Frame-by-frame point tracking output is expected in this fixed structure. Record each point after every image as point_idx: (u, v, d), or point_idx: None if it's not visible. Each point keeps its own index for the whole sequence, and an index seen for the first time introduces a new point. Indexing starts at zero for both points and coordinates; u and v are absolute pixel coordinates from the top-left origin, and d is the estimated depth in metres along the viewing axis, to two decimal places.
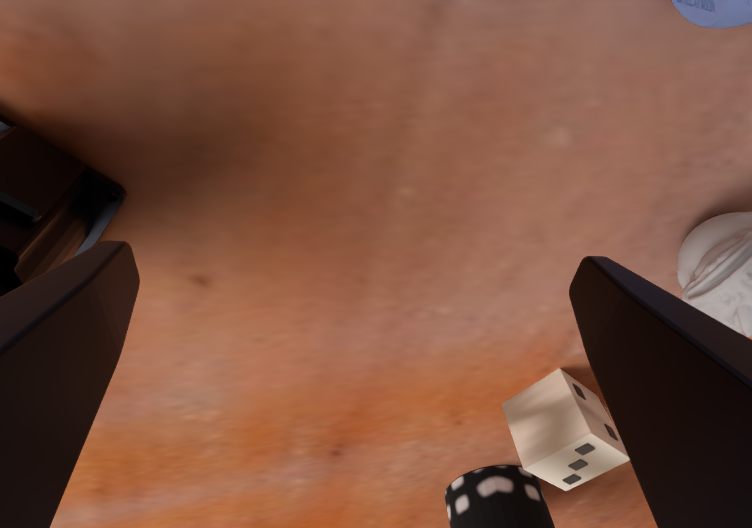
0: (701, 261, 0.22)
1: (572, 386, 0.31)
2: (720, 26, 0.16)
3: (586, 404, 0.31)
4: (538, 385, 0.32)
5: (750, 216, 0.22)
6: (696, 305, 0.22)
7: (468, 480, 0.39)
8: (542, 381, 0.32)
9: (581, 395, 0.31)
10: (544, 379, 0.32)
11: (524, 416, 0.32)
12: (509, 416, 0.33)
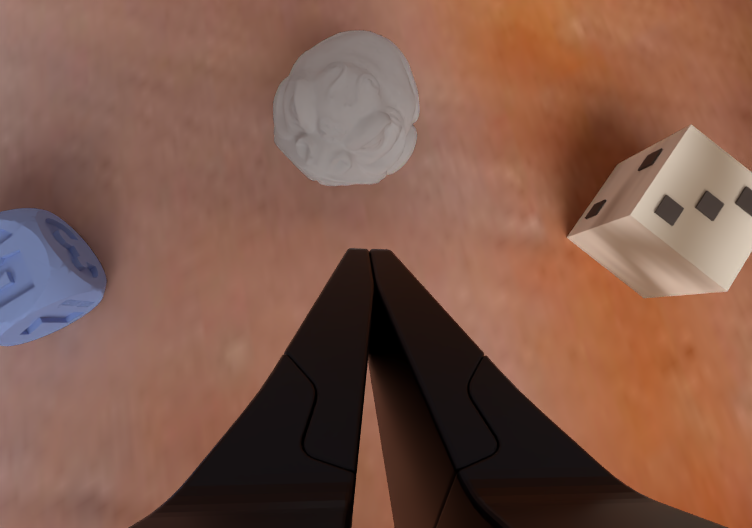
0: None
1: (587, 221, 0.22)
2: (86, 280, 0.18)
3: (610, 200, 0.22)
4: (599, 259, 0.23)
5: None
6: (379, 174, 0.18)
7: None
8: (591, 254, 0.23)
9: (598, 208, 0.22)
10: (588, 252, 0.23)
11: (646, 277, 0.22)
12: (656, 293, 0.22)
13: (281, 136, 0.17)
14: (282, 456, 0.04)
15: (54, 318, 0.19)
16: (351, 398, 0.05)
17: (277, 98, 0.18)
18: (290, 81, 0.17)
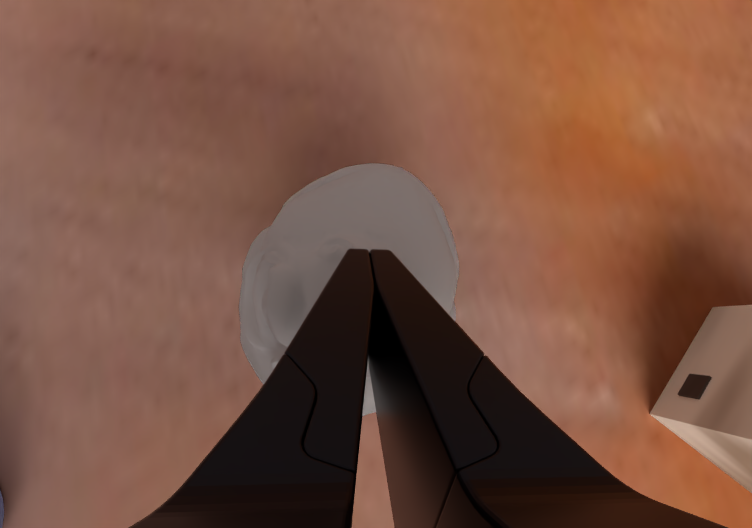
0: None
1: (683, 401, 0.16)
2: None
3: (720, 382, 0.15)
4: (696, 447, 0.17)
5: None
6: None
7: None
8: (684, 439, 0.17)
9: (700, 388, 0.16)
10: (679, 435, 0.17)
11: None
12: None
13: (250, 340, 0.11)
14: (282, 456, 0.04)
15: None
16: (351, 398, 0.05)
17: (245, 277, 0.11)
18: (264, 261, 0.11)
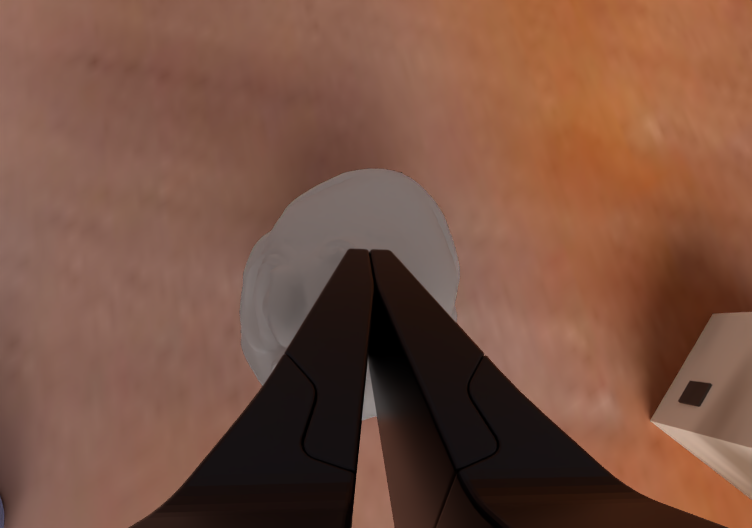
0: None
1: (683, 409, 0.16)
2: None
3: (720, 389, 0.15)
4: (696, 454, 0.17)
5: None
6: None
7: None
8: (685, 446, 0.17)
9: (701, 395, 0.16)
10: (680, 442, 0.17)
11: None
12: None
13: (251, 344, 0.11)
14: (282, 456, 0.05)
15: None
16: (351, 398, 0.05)
17: (246, 281, 0.11)
18: (265, 263, 0.11)
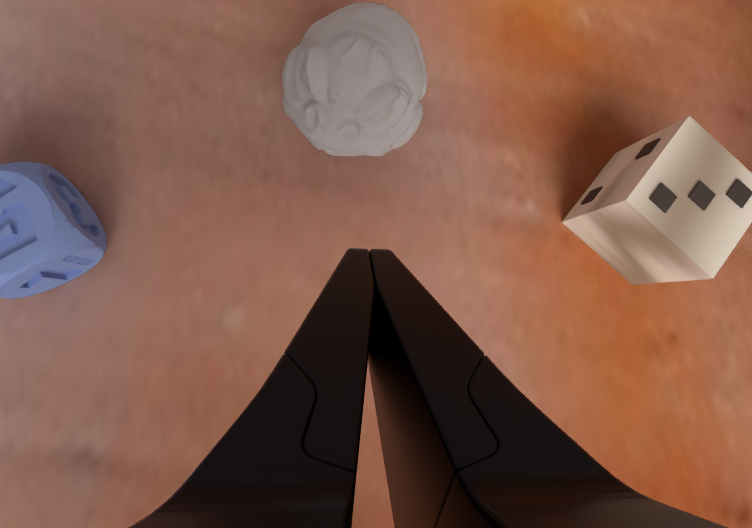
0: None
1: (583, 206, 0.23)
2: (88, 237, 0.18)
3: (606, 187, 0.22)
4: (592, 244, 0.24)
5: None
6: (384, 147, 0.18)
7: None
8: (584, 240, 0.24)
9: (594, 194, 0.23)
10: (581, 237, 0.24)
11: (636, 264, 0.22)
12: (644, 279, 0.23)
13: (290, 103, 0.17)
14: (282, 456, 0.05)
15: (53, 274, 0.19)
16: (351, 398, 0.05)
17: (288, 65, 0.18)
18: (302, 48, 0.17)
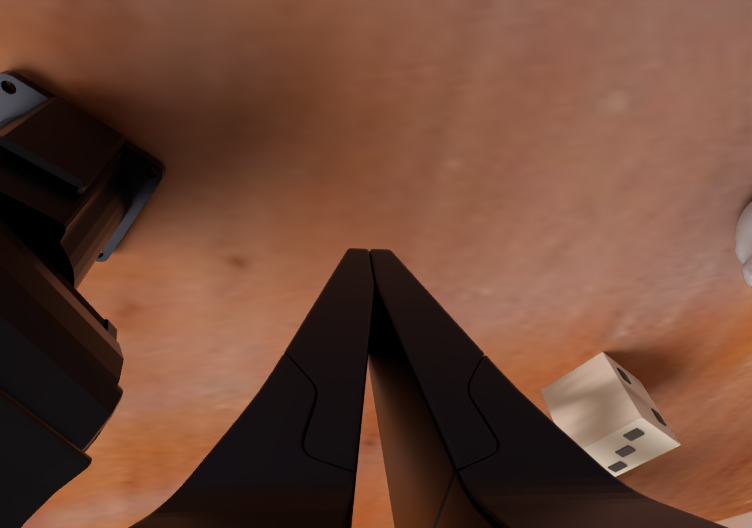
0: None
1: (617, 370, 0.30)
2: None
3: (632, 388, 0.29)
4: (580, 370, 0.31)
5: None
6: None
7: None
8: (584, 366, 0.31)
9: (626, 379, 0.30)
10: (586, 363, 0.31)
11: (567, 402, 0.31)
12: (550, 402, 0.31)
13: None
14: (282, 456, 0.05)
15: None
16: (351, 398, 0.05)
17: None
18: None
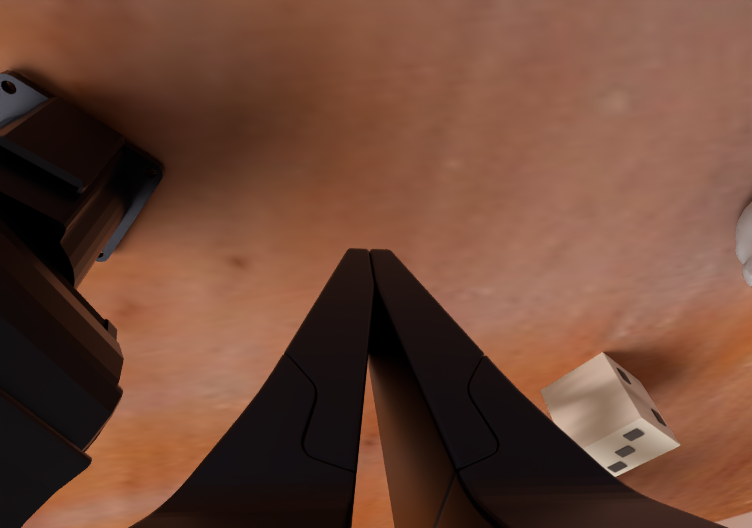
0: None
1: (617, 370, 0.30)
2: None
3: (632, 389, 0.29)
4: (580, 370, 0.31)
5: None
6: None
7: None
8: (584, 366, 0.31)
9: (626, 379, 0.30)
10: (586, 364, 0.31)
11: (567, 402, 0.31)
12: (550, 402, 0.31)
13: None
14: (282, 456, 0.04)
15: None
16: (351, 398, 0.05)
17: None
18: None
